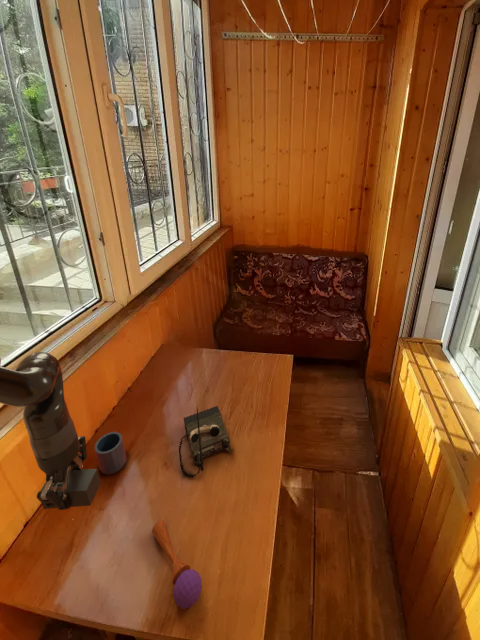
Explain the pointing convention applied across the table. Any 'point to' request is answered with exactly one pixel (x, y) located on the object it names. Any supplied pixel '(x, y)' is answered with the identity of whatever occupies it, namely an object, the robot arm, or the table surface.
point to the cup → (110, 453)
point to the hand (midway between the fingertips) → (72, 493)
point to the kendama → (179, 571)
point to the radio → (205, 436)
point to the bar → (81, 487)
